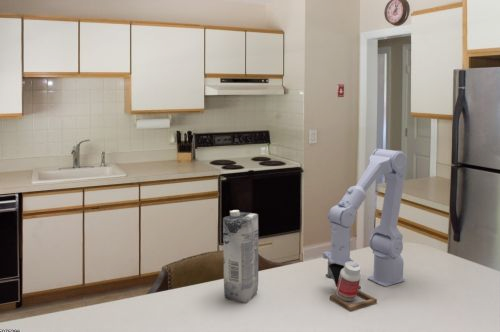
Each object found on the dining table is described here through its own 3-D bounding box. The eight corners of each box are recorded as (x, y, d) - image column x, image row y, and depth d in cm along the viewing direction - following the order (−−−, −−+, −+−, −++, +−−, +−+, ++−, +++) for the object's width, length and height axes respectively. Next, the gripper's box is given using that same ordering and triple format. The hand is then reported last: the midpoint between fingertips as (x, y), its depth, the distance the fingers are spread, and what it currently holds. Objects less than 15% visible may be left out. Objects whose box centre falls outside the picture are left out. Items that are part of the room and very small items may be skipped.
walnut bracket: (355, 292, 147) (355, 288, 147) (376, 303, 139) (376, 299, 139) (329, 299, 142) (329, 295, 142) (350, 311, 134) (350, 307, 134)
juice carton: (261, 292, 148) (261, 208, 144) (247, 305, 138) (246, 216, 134) (236, 287, 152) (235, 206, 148) (220, 300, 142) (219, 213, 138)
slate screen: (332, 274, 162) (332, 258, 161) (360, 288, 150) (361, 271, 149) (325, 276, 160) (325, 259, 159) (353, 290, 148) (354, 272, 147)
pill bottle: (359, 301, 141) (367, 271, 137) (340, 303, 139) (348, 273, 135) (349, 287, 147) (357, 258, 142) (331, 289, 145) (338, 260, 140)
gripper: (315, 240, 148) (314, 281, 150) (346, 253, 135) (345, 297, 138) (332, 237, 151) (331, 277, 153) (364, 249, 139) (363, 292, 141)
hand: (339, 286), depth 146 cm, fingers closed
